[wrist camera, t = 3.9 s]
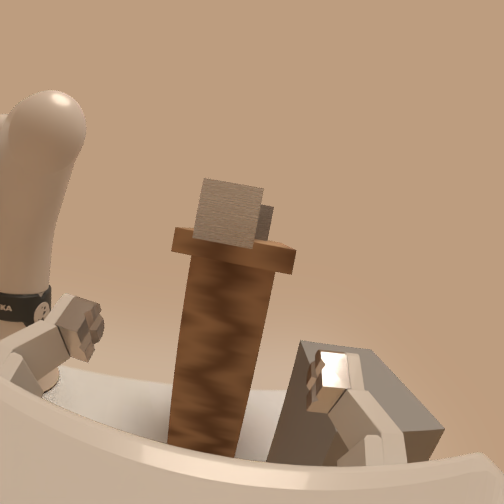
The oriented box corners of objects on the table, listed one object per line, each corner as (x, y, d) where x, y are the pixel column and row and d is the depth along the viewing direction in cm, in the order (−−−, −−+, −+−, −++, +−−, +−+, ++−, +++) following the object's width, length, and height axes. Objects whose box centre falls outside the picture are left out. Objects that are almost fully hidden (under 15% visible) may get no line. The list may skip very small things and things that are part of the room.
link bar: (163, 232, 15) (179, 154, 15) (220, 231, 41) (226, 201, 41) (282, 255, 15) (297, 175, 15) (265, 239, 41) (271, 209, 41)
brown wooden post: (150, 466, 27) (175, 227, 25) (179, 400, 43) (205, 228, 41) (239, 485, 27) (296, 250, 25) (244, 413, 43) (280, 242, 41)
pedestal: (269, 564, 16) (336, 431, 15) (265, 462, 32) (300, 340, 31) (354, 560, 16) (444, 428, 15) (327, 466, 32) (371, 349, 31)
